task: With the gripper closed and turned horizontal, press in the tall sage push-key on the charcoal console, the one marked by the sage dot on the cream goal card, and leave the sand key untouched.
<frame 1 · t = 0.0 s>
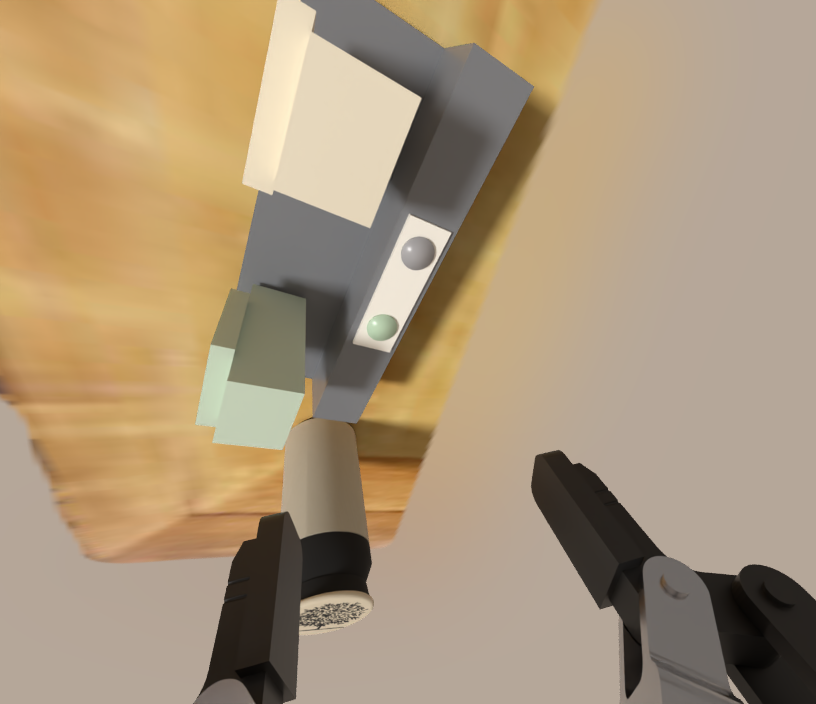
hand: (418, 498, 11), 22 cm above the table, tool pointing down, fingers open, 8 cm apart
travel mug: (321, 436, 42), on the table
sage key: (257, 357, 24), point 7 cm above the table, slide at 0.0 cm
console: (336, 236, 28), on the table
sand key: (324, 121, 17), point 8 cm above the table, slide at 0.0 cm
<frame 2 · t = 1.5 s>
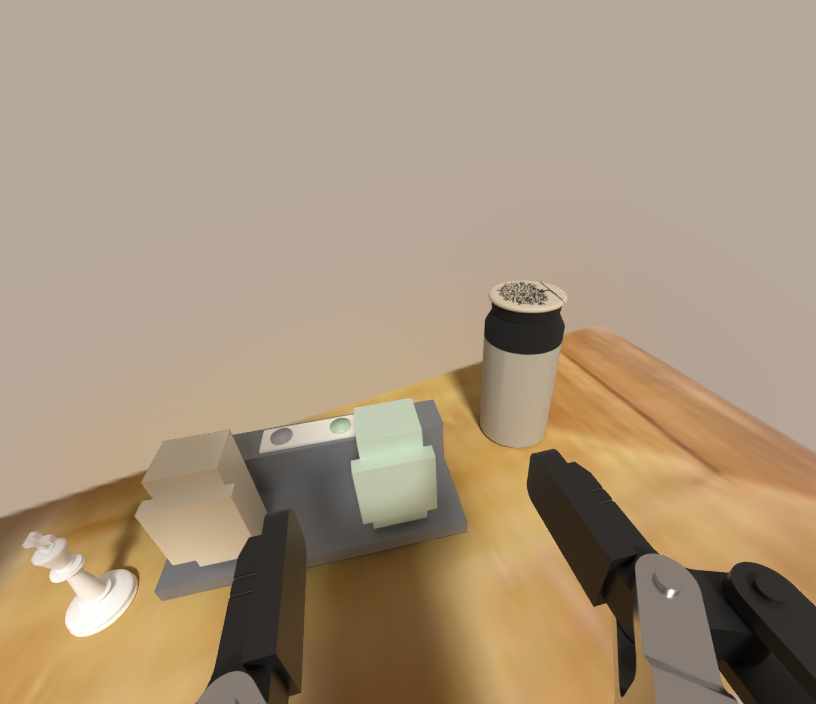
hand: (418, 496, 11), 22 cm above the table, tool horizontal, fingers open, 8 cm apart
travel mug: (511, 427, 45), on the table
sage key: (393, 470, 31), point 8 cm above the table, slide at 0.0 cm
chess piece: (105, 603, 30), on the table
console: (323, 506, 37), on the table
sand key: (212, 506, 29), point 8 cm above the table, slide at 0.0 cm
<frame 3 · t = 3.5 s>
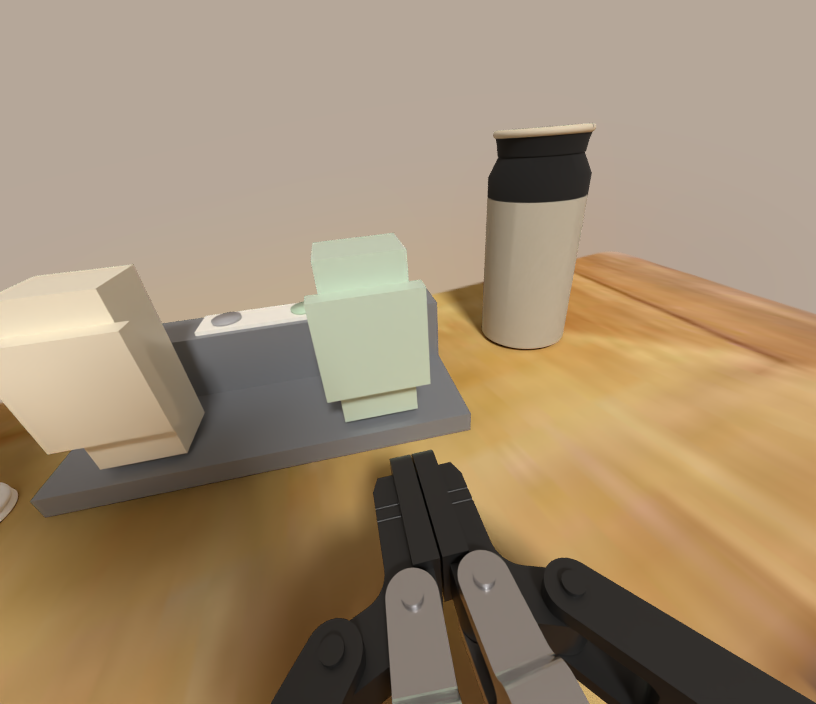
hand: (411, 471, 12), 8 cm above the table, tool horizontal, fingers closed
travel mug: (520, 333, 37), on the table
sage key: (369, 335, 22), point 8 cm above the table, slide at 0.0 cm
console: (283, 411, 28), on the table
sand key: (111, 376, 20), point 8 cm above the table, slide at 0.0 cm
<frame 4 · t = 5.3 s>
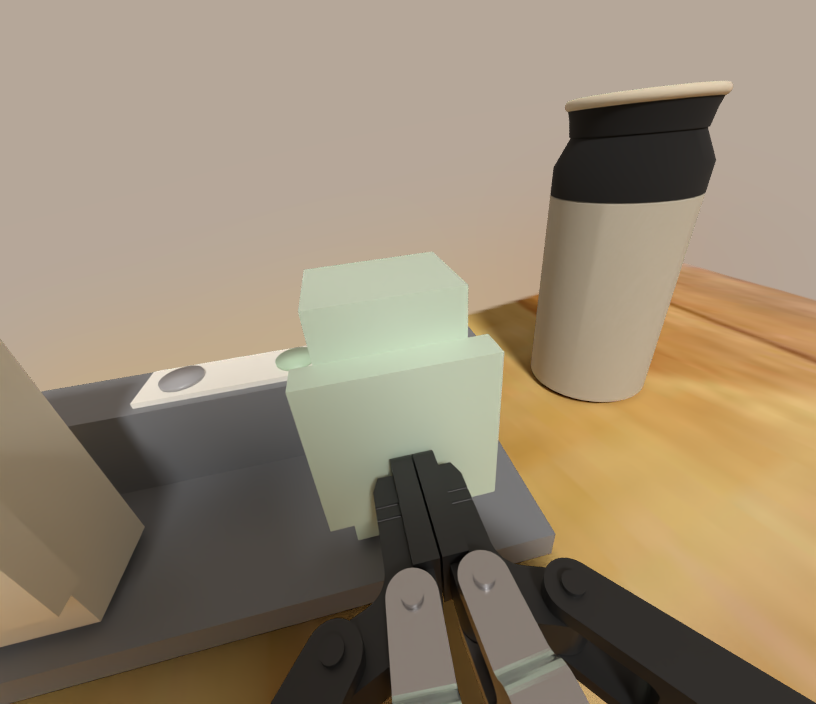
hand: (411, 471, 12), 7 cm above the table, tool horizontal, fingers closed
travel mug: (583, 375, 28), on the table
sage key: (396, 412, 14), point 7 cm above the table, slide at 0.7 cm, touching gripper
console: (266, 510, 20), on the table
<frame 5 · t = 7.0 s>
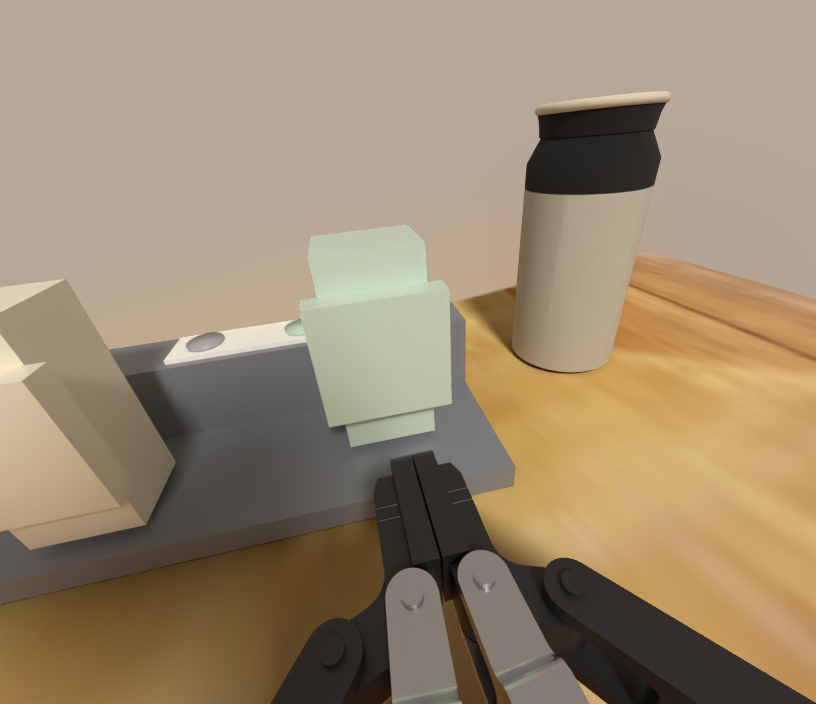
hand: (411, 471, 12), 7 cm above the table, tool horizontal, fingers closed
travel mug: (558, 351, 31), on the table
sage key: (379, 345, 19), point 8 cm above the table, slide at 2.3 cm
console: (276, 455, 23), on the table
sand key: (37, 430, 15), point 8 cm above the table, slide at 0.0 cm
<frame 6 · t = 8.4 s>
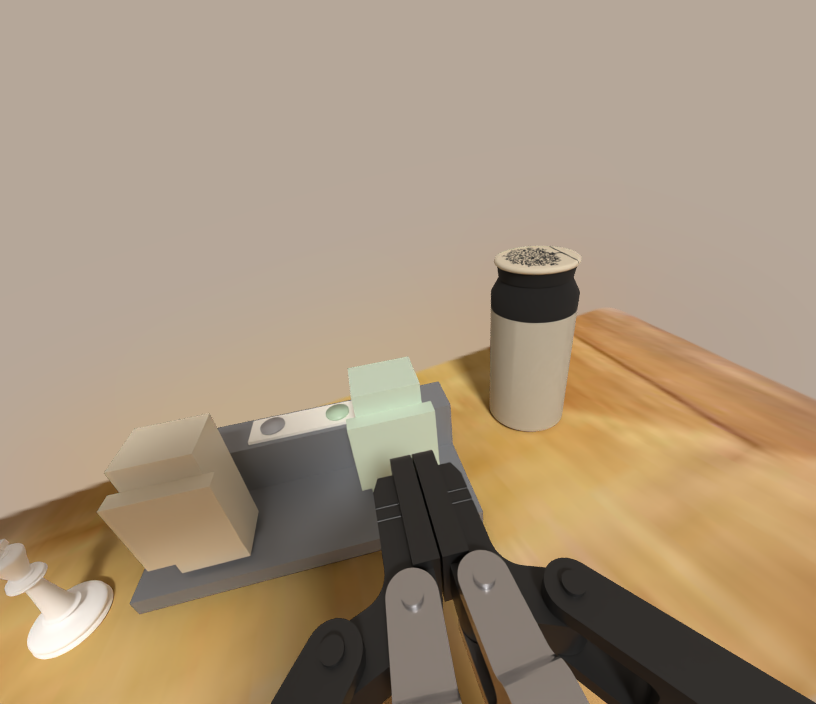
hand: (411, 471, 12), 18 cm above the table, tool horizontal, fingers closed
travel mug: (524, 411, 41), on the table
sage key: (392, 434, 29), point 8 cm above the table, slide at 2.3 cm
chess piece: (76, 619, 27), on the table
console: (321, 502, 33), on the table
sand key: (192, 502, 25), point 8 cm above the table, slide at 0.0 cm
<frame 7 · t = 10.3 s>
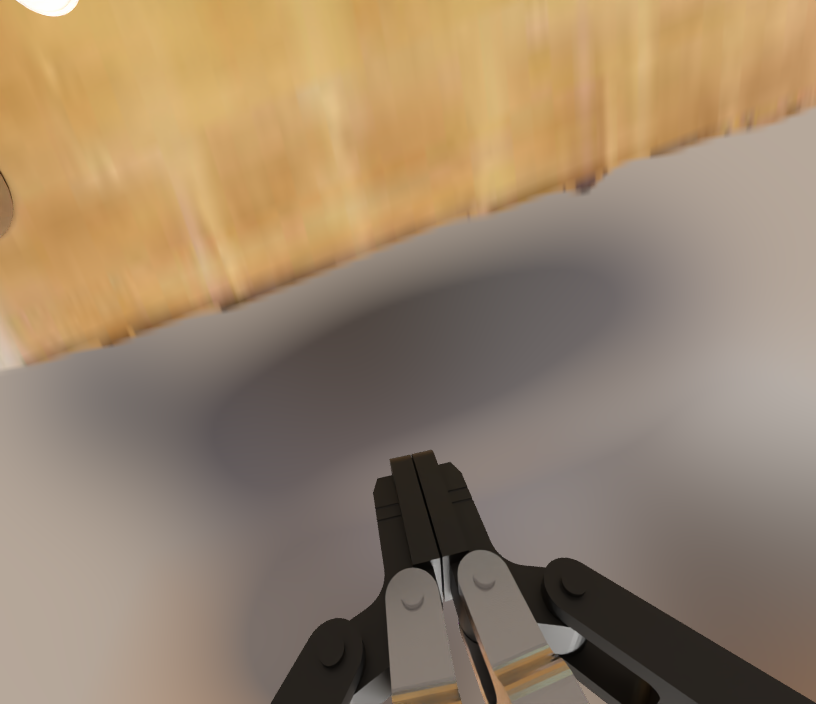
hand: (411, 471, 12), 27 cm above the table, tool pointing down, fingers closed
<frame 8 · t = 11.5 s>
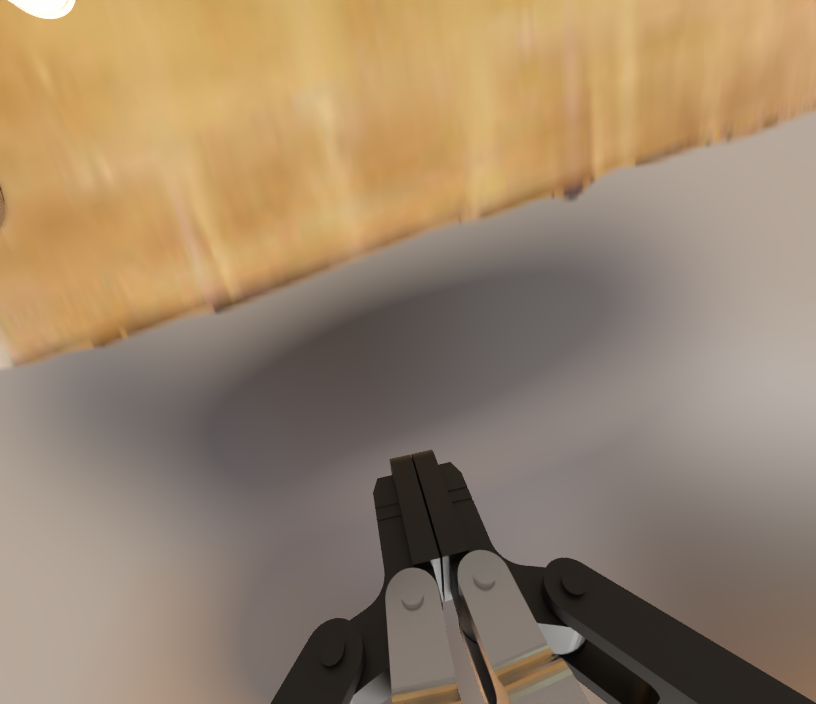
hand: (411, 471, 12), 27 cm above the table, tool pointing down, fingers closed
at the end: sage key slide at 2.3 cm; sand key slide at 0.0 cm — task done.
